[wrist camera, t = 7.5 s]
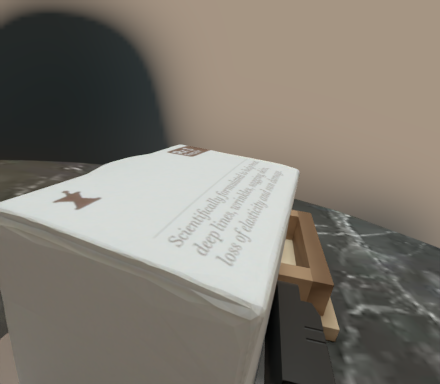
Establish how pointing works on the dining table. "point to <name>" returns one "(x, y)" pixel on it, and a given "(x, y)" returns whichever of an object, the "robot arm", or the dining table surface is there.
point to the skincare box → (146, 270)
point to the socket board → (309, 269)
